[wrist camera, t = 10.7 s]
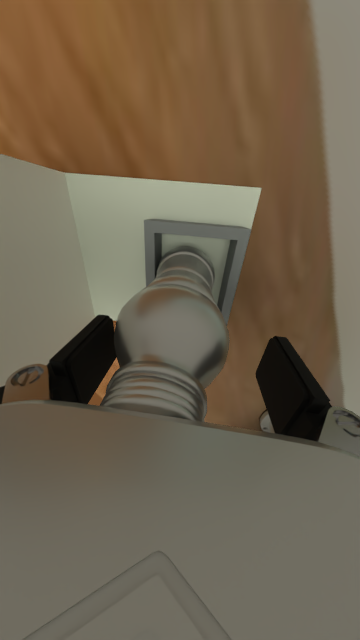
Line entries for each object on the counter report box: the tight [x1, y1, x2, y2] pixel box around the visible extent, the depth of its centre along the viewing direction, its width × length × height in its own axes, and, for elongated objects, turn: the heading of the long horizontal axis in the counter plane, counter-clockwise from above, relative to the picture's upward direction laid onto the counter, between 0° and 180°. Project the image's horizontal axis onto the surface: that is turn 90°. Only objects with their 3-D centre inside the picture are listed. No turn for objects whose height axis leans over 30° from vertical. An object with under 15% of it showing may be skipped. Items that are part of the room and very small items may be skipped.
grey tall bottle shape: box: [100, 246, 230, 422], centre depth 14 cm, size 6×7×20 cm
